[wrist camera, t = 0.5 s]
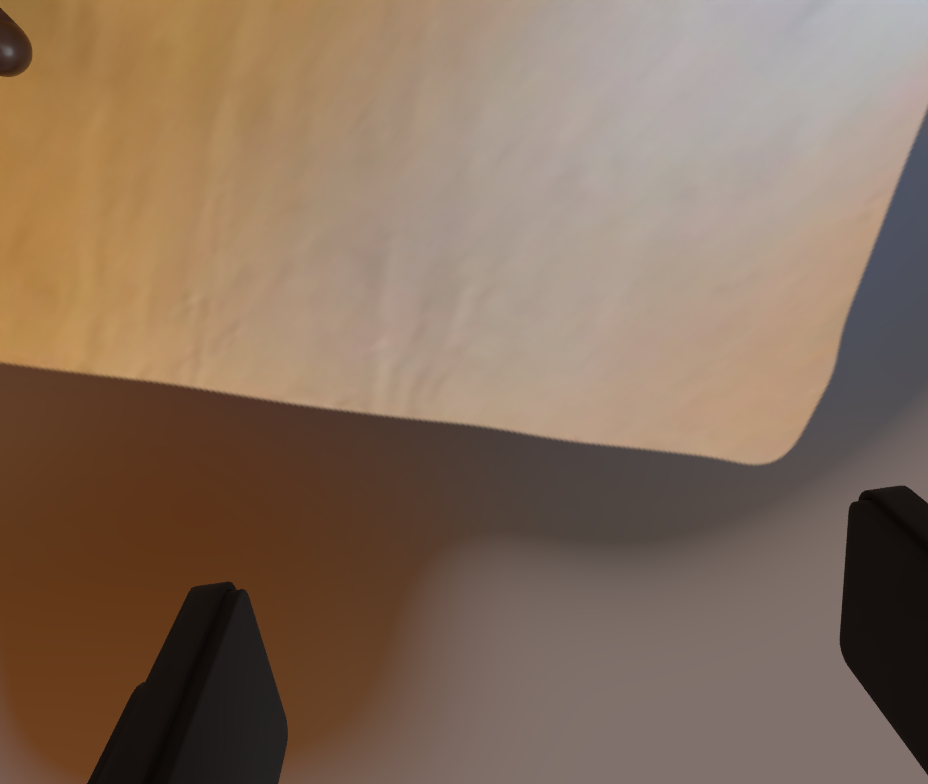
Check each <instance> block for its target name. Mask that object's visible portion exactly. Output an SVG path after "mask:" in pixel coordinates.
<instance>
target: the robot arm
mask: <svg viewBox="0 0 928 784" xmlns="http://www.w3.org/2000/svg"><path fill="white" fill-rule="evenodd" d="M840 646H841V651H842V655H843V657H844V659H845V662H846V663H847V665H848V667H849V668H850V669H851V671H852V672H853V674H854V675H855V676H856V678H857V679H858V680H859V682H860V683H861V684H862V686H863V687H864V689H865V690H866V691H867V693H868V694H869V695H870V697H871V698H872V699H873V701H874V702H875V704H876V705H877V706H878V708H879V709H880V710H881V712H882V713H883V714H884V716H885V717H886V719H887V720H888V721H889V723H890V724H891V725H892V727H893V728H894V729H895V731H896V732H897V734H898V735H899V736H900V738H901V739H902V740H903V742H904V743H905V744H906V746H907V747H908V748H909V750H910V751H911V753H912V754H913V755H914V757H915V758H916V760H917V761H918V762H919V764H920V765H921V766H922V768H923V769H924V771H925V772H926V773H927V775H928V503H927V502H925V501H924V500H923V499H922V498H921V497H919V496H918V495H917V494H916V493H914V492H913V491H912V490H911V489H909V488H908V487H906V486H894V487H887V488H880V489H873V490H867V491H864V492H862V493H861V495H860V497H859V501H857V502H853V503H851V505H850V507H849V515H848V528H847V543H846V557H845V571H844V586H843V600H842V614H841V628H840ZM287 738H288V728H287V720H286V716H285V713H284V709H283V706H282V703H281V700H280V696H279V693H278V690H277V687H276V683H275V680H274V677H273V674H272V671H271V667H270V664H269V661H268V657H267V654H266V651H265V648H264V644H263V641H262V638H261V635H260V631H259V628H258V625H257V622H256V618H255V615H254V612H253V608H252V606H251V602H250V599H249V596H248V593H247V592H246V590H244V589H240V590H236V588H235V586H234V585H233V583H231V582H223V583H216V584H208V585H202V586H195V587H193V588H191V590H190V591H189V593H188V595H187V597H186V599H185V601H184V603H183V605H182V607H181V610H180V611H179V614H178V616H177V618H176V620H175V622H174V624H173V626H172V628H171V630H170V632H169V634H168V636H167V638H166V640H165V643H164V645H163V647H162V649H161V651H160V653H159V655H158V657H157V659H156V661H155V663H154V665H153V667H152V669H151V671H150V673H149V676H148V678H147V680H146V682H143V683H141V684H140V685H139V686H137V687H136V689H135V690H134V692H133V693H132V695H131V697H130V699H129V701H128V703H127V705H126V707H125V709H124V711H123V713H122V715H121V717H120V719H119V721H118V723H117V725H116V727H115V729H114V731H113V733H112V735H111V737H110V739H109V741H108V743H107V745H106V747H105V749H104V751H103V753H102V755H101V757H100V759H99V761H98V763H97V765H96V767H95V769H94V771H93V773H92V775H91V777H90V779H89V781H88V783H87V784H278V782H279V777H280V773H281V769H282V764H283V760H284V755H285V750H286V746H287Z"/></svg>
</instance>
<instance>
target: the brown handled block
mask: <svg viewBox="0 0 928 784" xmlns="http://www.w3.org/2000/svg"><path fill="white" fill-rule="evenodd" d="M31 61H32V46H31V43H30V41H29V39H28V37H27V35H26V34H25V33H24V31H23V30H22V29H21V28H20V27H19V26H18V25H17V24H16V23H15V22H14V21H13V20H12V19H11V18H10V17H9V16H8V15H7V14H6V13H5V12H4V11H3V10H2V9H1V8H0V76H3V77H13V76H17V75H19V74H21V73H22V72H24V71H25V70H26V69H27V68H28V67H29V65H30V63H31Z"/></svg>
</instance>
